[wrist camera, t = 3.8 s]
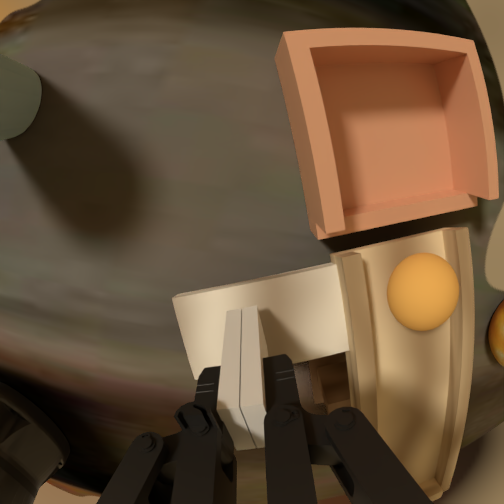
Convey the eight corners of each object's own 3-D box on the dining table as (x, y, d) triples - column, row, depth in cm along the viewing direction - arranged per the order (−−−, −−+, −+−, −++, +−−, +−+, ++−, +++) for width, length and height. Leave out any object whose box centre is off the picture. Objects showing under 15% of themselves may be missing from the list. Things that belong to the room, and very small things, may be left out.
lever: (253, 520, 18) (252, 545, 15) (175, 285, 17) (157, 296, 14) (437, 472, 18) (450, 492, 14) (443, 227, 16) (472, 227, 13)
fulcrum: (313, 398, 24) (323, 439, 19) (304, 336, 22) (317, 379, 17) (434, 360, 23) (458, 392, 19) (443, 296, 21) (475, 326, 16)
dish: (310, 229, 19) (328, 253, 15) (274, 58, 15) (283, 32, 11) (459, 199, 18) (498, 213, 14) (436, 54, 15) (473, 40, 11)
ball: (416, 328, 11) (386, 246, 13) (390, 348, 14) (370, 282, 16) (483, 302, 11) (452, 230, 13) (449, 327, 14) (427, 266, 16)
